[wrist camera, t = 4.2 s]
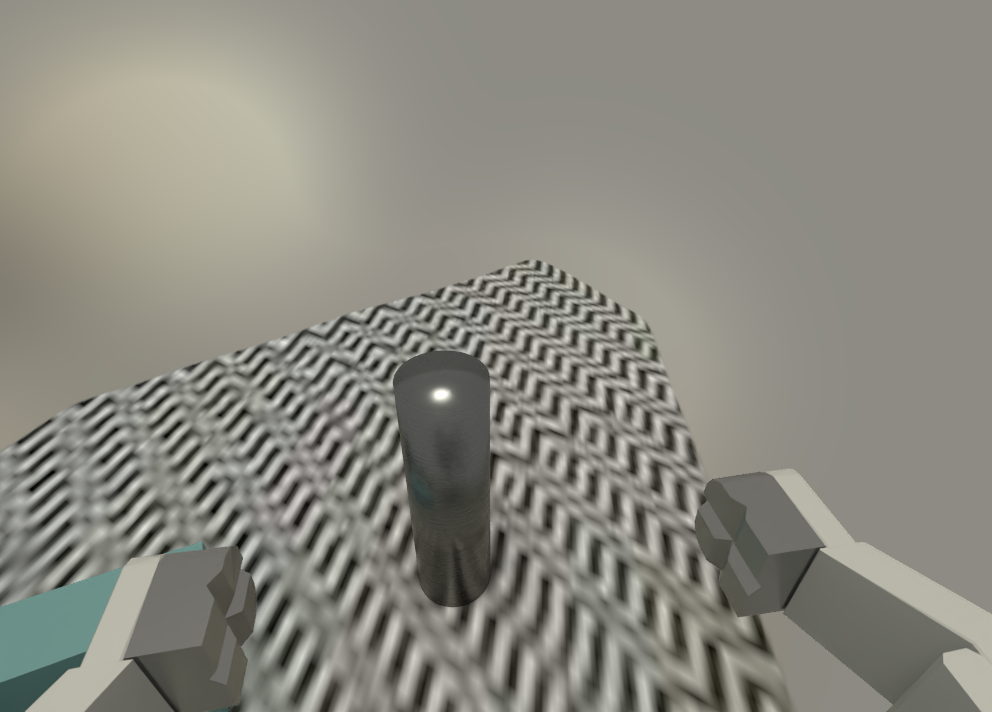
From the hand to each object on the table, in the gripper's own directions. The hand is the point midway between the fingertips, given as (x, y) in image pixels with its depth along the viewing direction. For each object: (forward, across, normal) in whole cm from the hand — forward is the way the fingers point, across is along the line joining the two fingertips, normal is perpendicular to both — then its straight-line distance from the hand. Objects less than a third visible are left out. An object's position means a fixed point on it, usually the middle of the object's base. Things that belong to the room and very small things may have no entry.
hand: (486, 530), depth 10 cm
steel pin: (+12, 0, +20) cm, 23 cm away
